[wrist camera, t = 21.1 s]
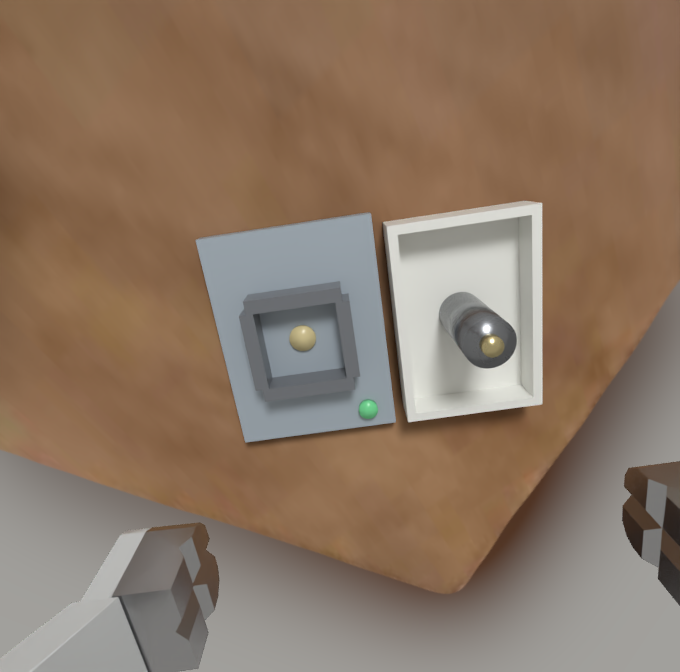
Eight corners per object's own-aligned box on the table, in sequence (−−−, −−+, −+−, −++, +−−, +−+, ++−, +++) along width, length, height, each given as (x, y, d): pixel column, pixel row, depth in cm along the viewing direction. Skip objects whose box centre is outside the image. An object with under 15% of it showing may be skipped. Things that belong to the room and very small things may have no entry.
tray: (382, 222, 40) (386, 226, 37) (524, 200, 40) (542, 203, 37) (402, 404, 46) (408, 422, 43) (527, 387, 46) (542, 404, 43)
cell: (436, 295, 42) (464, 325, 33) (481, 288, 42) (520, 317, 33) (440, 336, 43) (468, 376, 34) (483, 330, 43) (521, 368, 34)
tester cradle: (200, 237, 41) (186, 244, 37) (369, 212, 40) (373, 216, 36) (247, 434, 47) (240, 457, 43) (394, 414, 47) (399, 435, 43)
